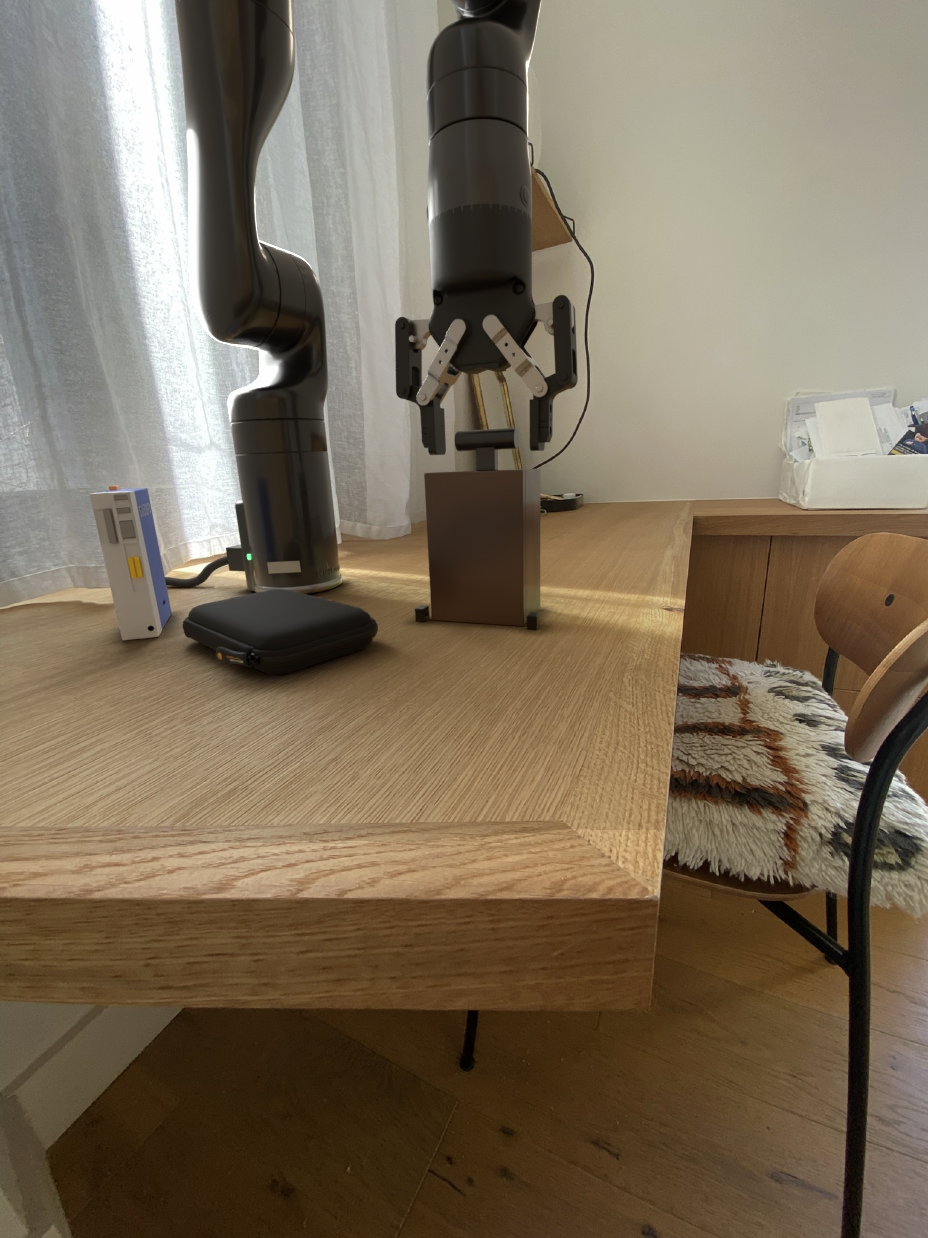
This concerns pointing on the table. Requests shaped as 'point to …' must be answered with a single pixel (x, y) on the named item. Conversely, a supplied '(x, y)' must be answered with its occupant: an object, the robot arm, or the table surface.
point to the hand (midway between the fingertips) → (485, 452)
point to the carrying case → (279, 630)
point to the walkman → (132, 561)
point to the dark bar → (532, 617)
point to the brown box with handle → (484, 536)
